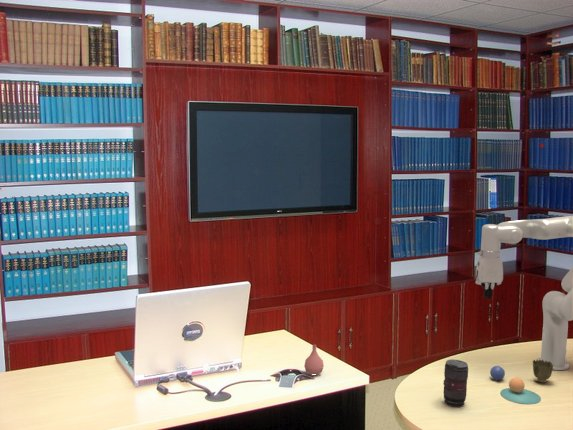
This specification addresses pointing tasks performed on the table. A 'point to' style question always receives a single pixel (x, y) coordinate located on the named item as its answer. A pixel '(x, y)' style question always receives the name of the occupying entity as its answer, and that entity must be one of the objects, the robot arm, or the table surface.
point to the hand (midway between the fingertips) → (487, 298)
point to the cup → (542, 370)
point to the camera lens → (455, 382)
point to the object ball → (516, 385)
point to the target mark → (520, 396)
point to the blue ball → (497, 372)
